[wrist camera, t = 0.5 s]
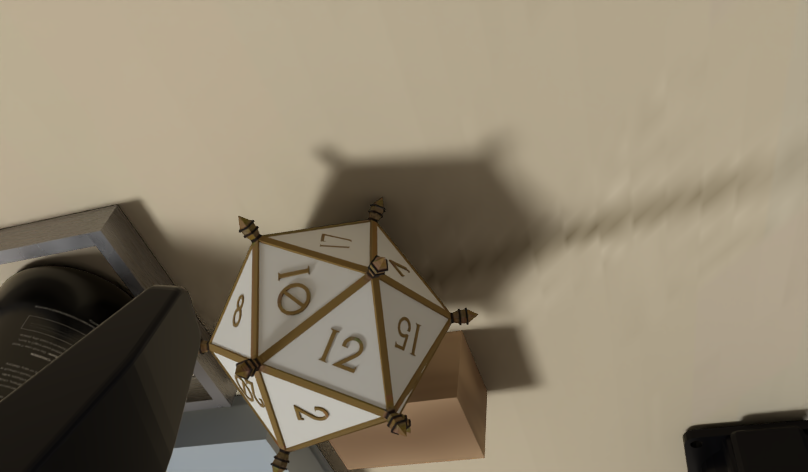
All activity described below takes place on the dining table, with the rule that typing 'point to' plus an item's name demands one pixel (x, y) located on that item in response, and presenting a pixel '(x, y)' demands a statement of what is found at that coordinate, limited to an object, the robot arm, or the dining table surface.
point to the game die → (328, 331)
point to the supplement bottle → (49, 317)
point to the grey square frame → (132, 267)
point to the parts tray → (234, 444)
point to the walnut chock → (429, 416)
